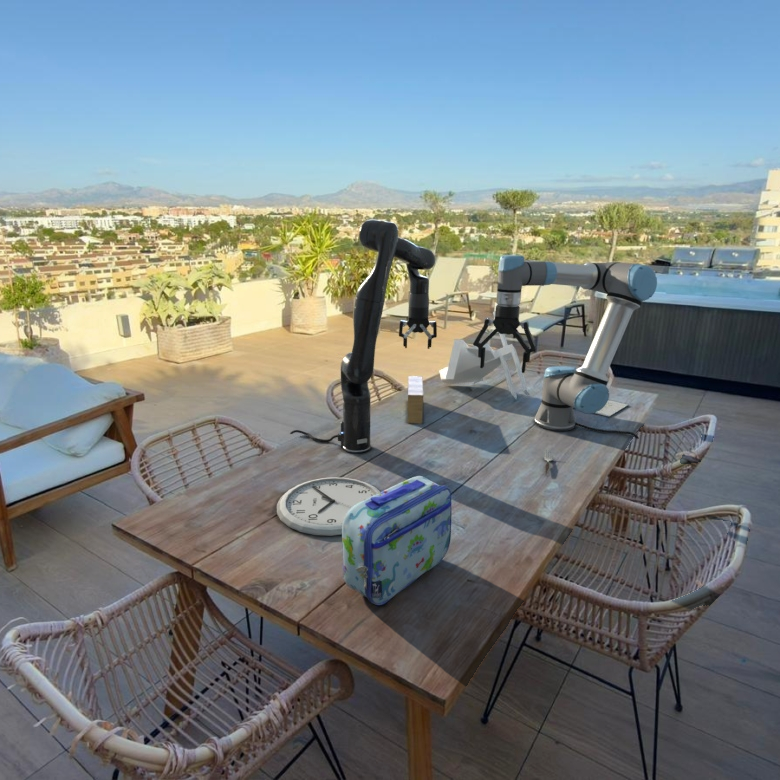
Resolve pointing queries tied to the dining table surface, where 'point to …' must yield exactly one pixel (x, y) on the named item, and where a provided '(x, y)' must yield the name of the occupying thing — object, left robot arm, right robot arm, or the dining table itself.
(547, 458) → the fork
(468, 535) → the dining table surface
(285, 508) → the wall clock
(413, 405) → the box
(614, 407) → the invitation card
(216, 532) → the dining table surface
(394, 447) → the dining table surface
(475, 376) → the white plastic object
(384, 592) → the lunch box
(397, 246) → the left robot arm
